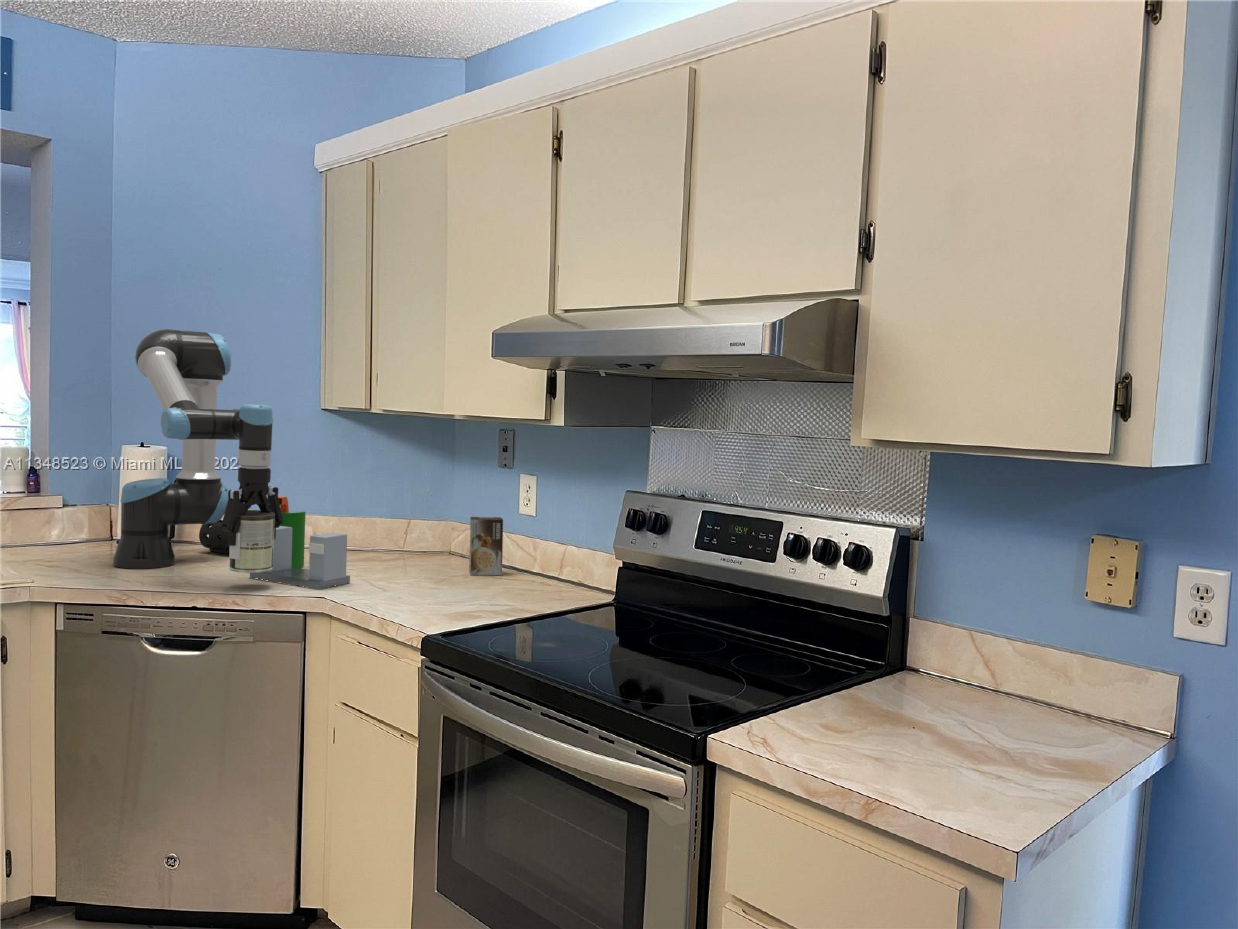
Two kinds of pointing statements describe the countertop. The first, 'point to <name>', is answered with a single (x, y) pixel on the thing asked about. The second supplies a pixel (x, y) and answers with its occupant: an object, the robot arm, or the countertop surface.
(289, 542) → the mounted blocks
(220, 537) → the muzzle brake
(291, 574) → the rail plate
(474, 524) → the coffee box
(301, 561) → the green tall piece
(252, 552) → the coffee can
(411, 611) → the countertop surface
